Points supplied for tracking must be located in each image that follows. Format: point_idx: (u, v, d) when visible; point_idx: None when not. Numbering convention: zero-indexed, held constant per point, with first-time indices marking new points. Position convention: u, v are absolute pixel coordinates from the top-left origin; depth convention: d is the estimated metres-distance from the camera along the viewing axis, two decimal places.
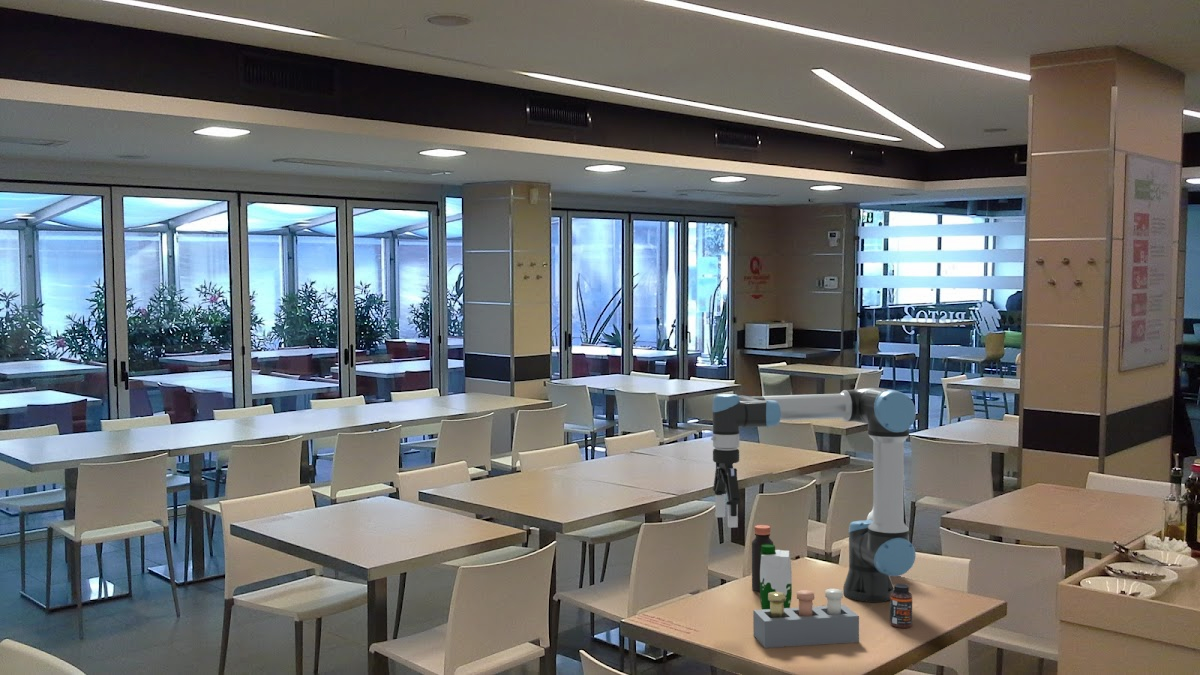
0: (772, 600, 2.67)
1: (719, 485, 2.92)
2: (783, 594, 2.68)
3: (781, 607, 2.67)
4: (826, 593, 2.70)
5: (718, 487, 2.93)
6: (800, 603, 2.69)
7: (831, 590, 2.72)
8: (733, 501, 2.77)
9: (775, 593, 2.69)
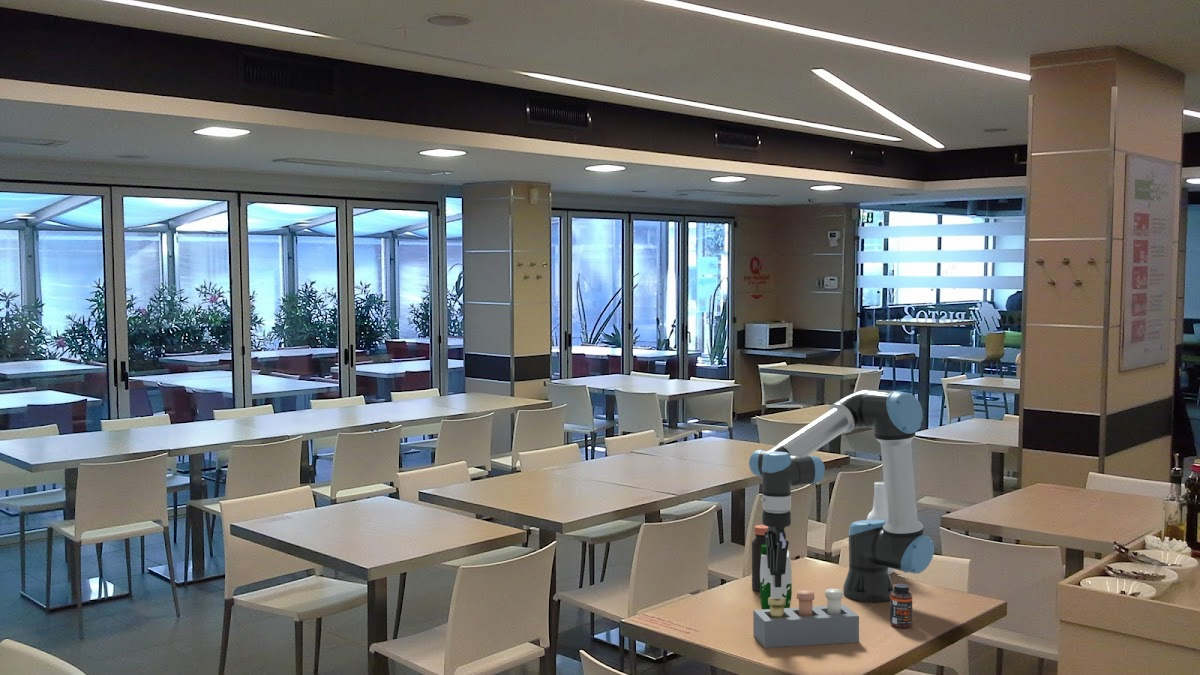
0: (772, 605, 2.67)
1: (773, 557, 2.69)
2: (783, 599, 2.68)
3: (781, 612, 2.67)
4: (826, 593, 2.70)
5: (772, 560, 2.69)
6: (800, 603, 2.69)
7: (831, 590, 2.72)
8: (778, 573, 2.65)
9: None
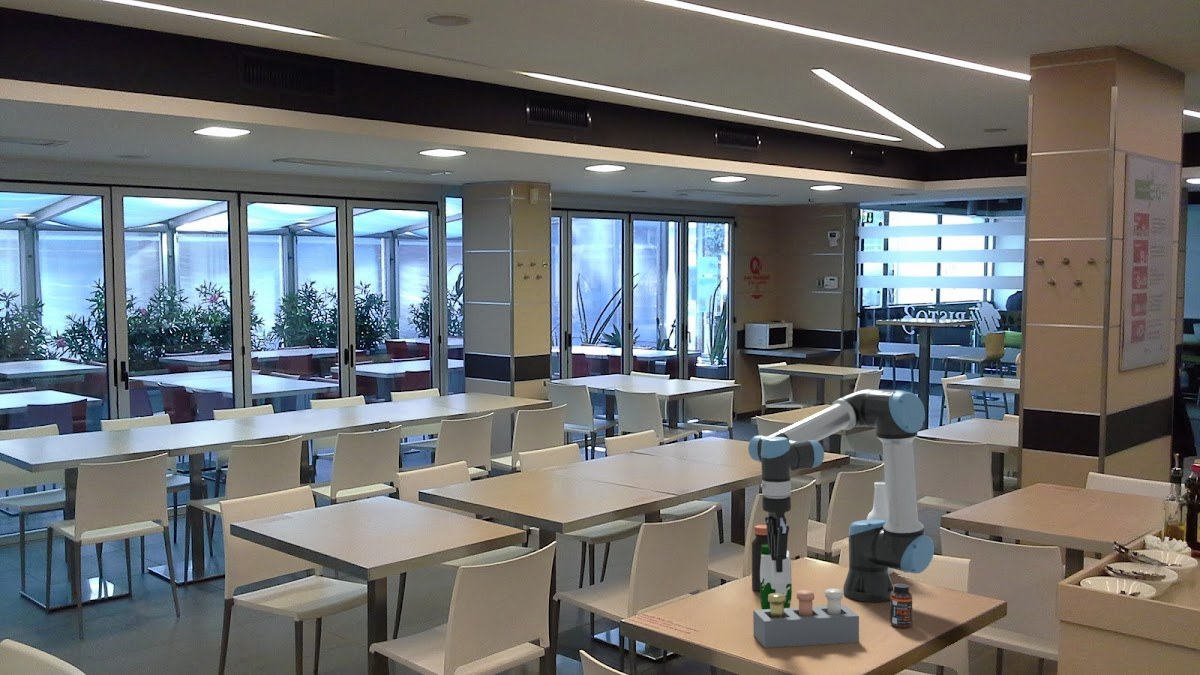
0: (772, 601, 2.67)
1: (774, 542, 2.69)
2: (783, 595, 2.68)
3: (781, 609, 2.67)
4: (826, 593, 2.70)
5: (773, 545, 2.69)
6: (800, 603, 2.69)
7: (831, 590, 2.72)
8: (779, 558, 2.65)
9: (775, 594, 2.69)
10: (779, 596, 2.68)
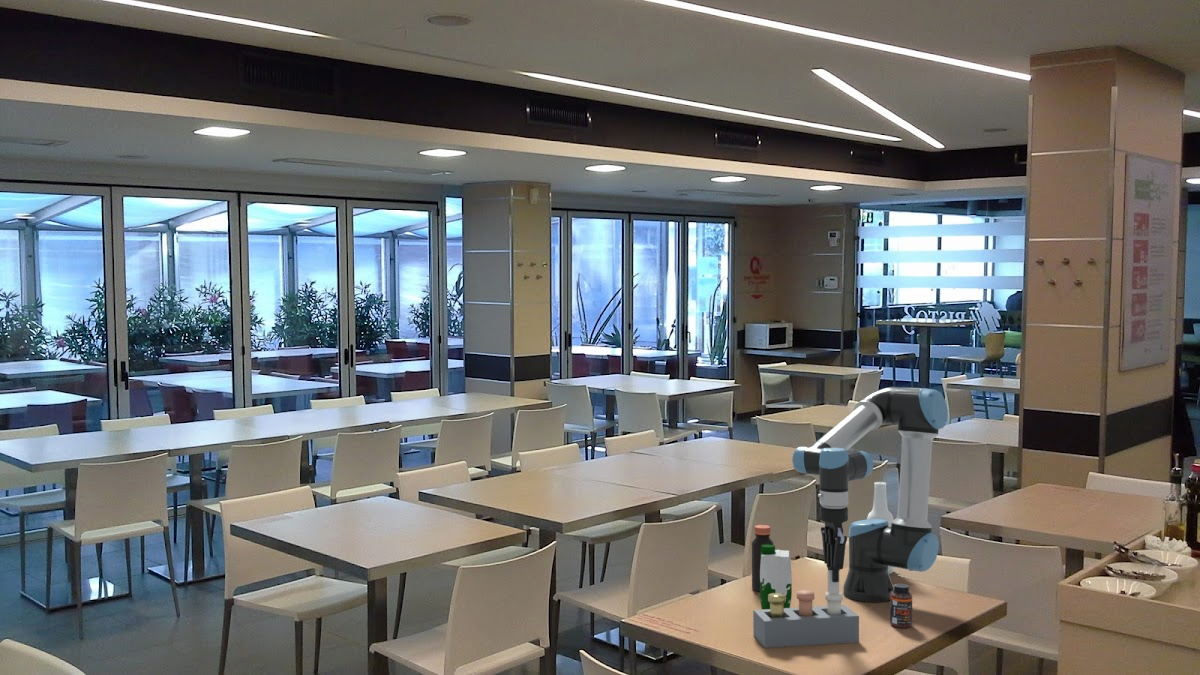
0: (772, 601, 2.67)
1: (830, 552, 2.71)
2: (783, 595, 2.68)
3: (781, 609, 2.67)
4: (826, 596, 2.70)
5: (829, 555, 2.71)
6: (800, 603, 2.69)
7: None
8: (836, 568, 2.67)
9: (775, 594, 2.69)
10: (779, 596, 2.68)
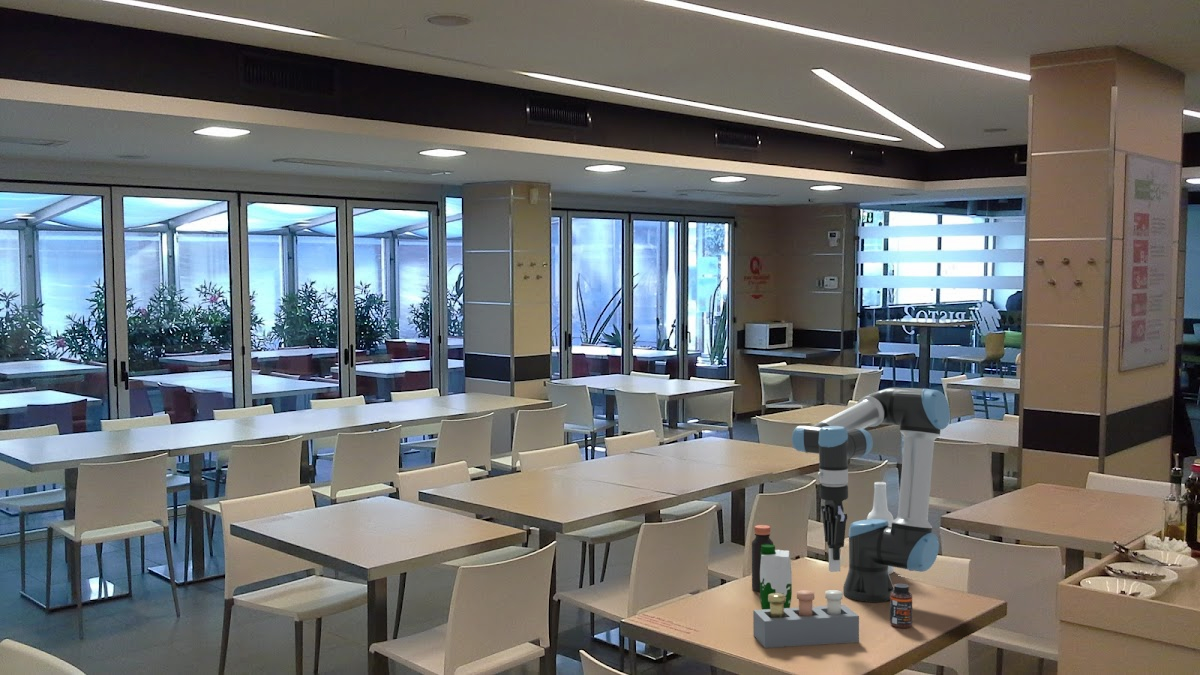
0: (772, 601, 2.67)
1: (830, 530, 2.71)
2: (783, 595, 2.68)
3: (781, 609, 2.67)
4: (826, 594, 2.70)
5: (830, 533, 2.71)
6: (800, 603, 2.69)
7: (831, 591, 2.72)
8: (836, 546, 2.67)
9: (775, 594, 2.69)
10: (779, 596, 2.68)
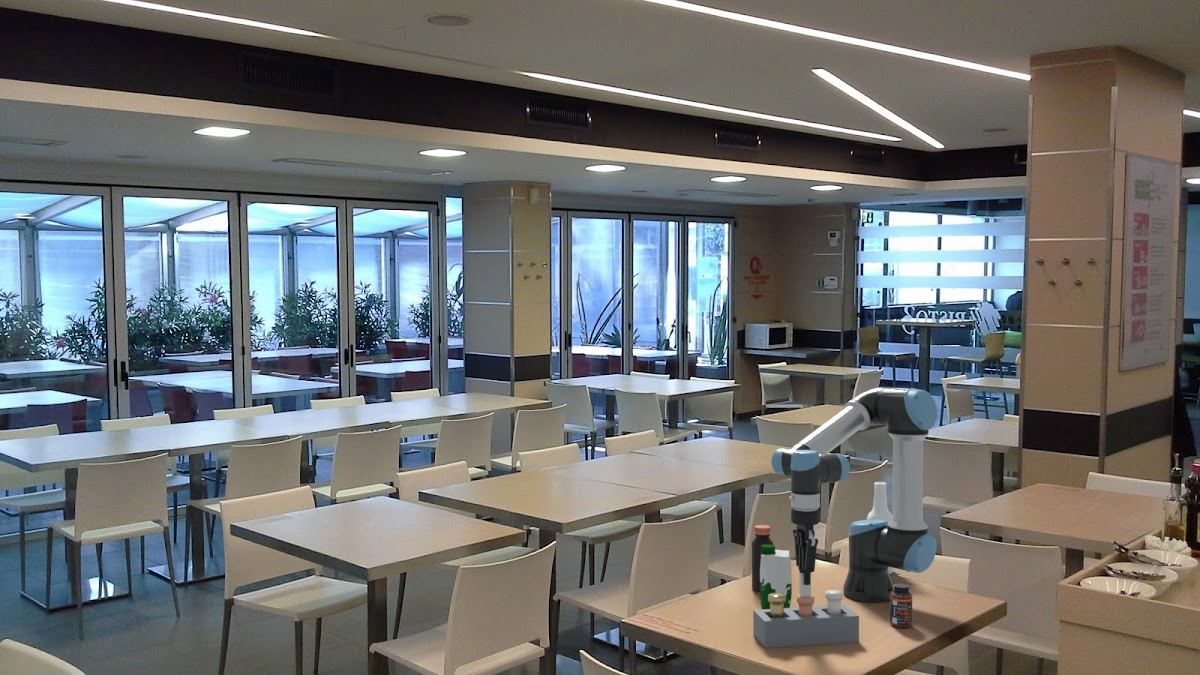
0: (772, 601, 2.67)
1: (801, 554, 2.70)
2: (783, 595, 2.68)
3: (781, 609, 2.67)
4: (826, 594, 2.70)
5: (801, 557, 2.70)
6: (800, 607, 2.69)
7: (831, 591, 2.72)
8: (807, 571, 2.66)
9: (775, 594, 2.69)
10: (779, 596, 2.68)
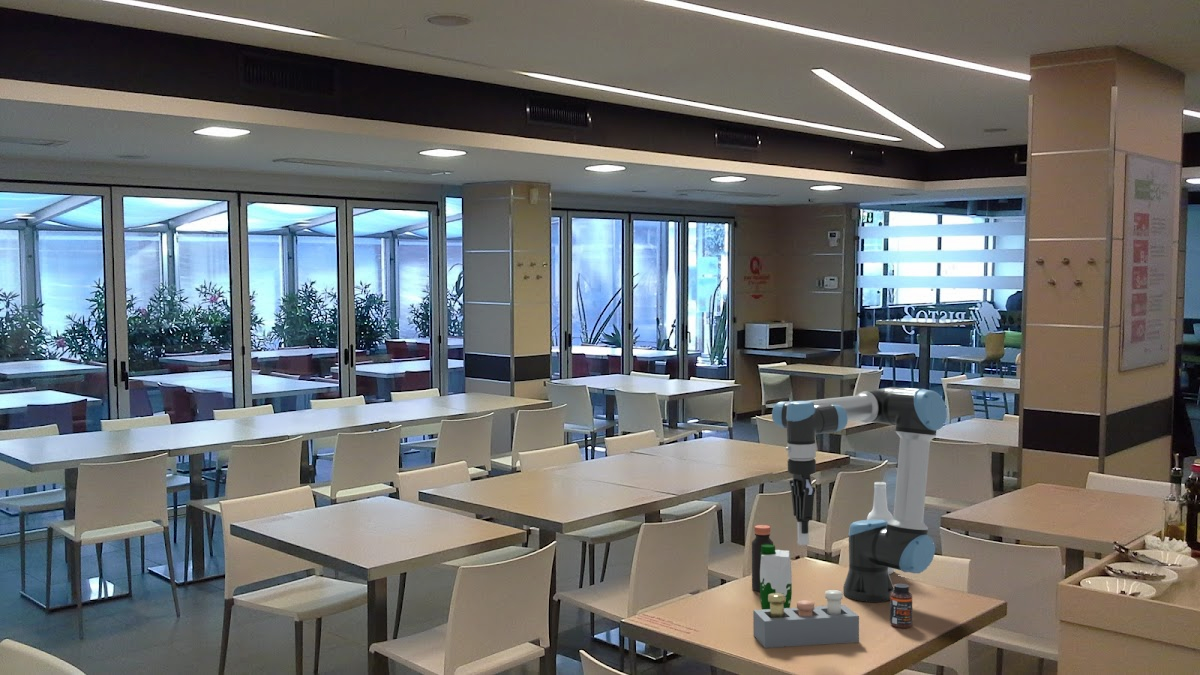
0: (772, 601, 2.67)
1: (799, 504, 2.74)
2: (783, 595, 2.68)
3: (781, 609, 2.67)
4: (826, 594, 2.70)
5: (798, 507, 2.74)
6: (800, 613, 2.69)
7: (831, 591, 2.72)
8: (805, 520, 2.70)
9: (775, 594, 2.69)
10: (779, 596, 2.68)
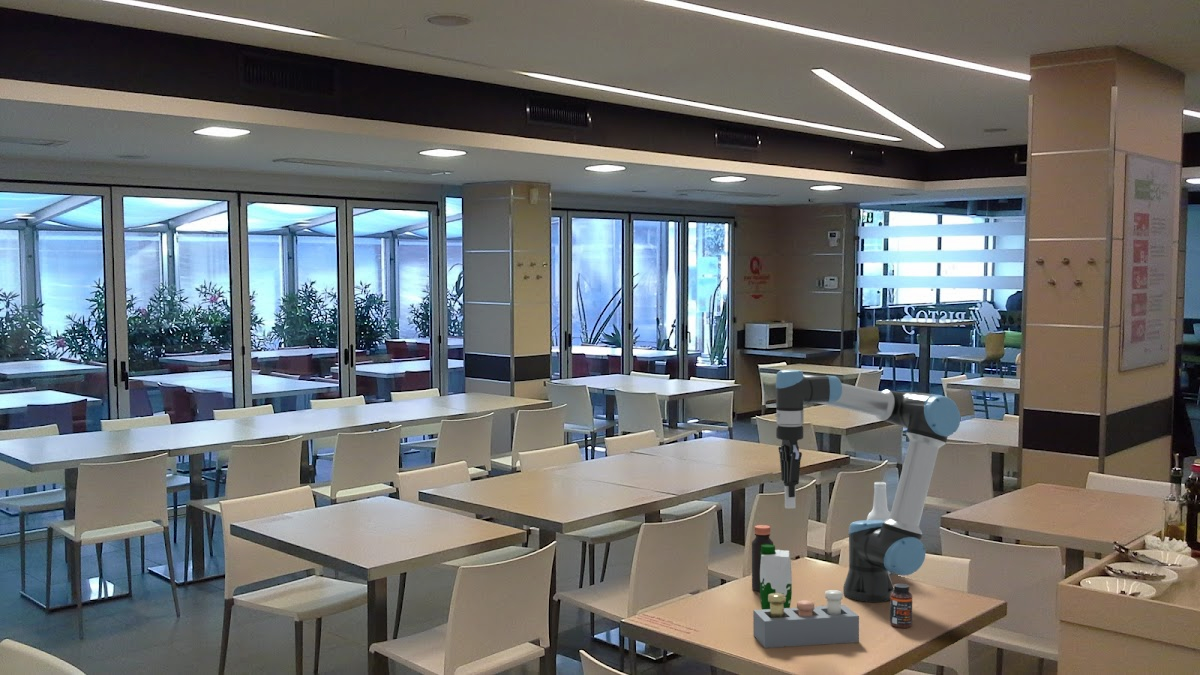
0: (772, 601, 2.67)
1: (786, 469, 2.84)
2: (783, 595, 2.68)
3: (781, 609, 2.67)
4: (826, 594, 2.70)
5: (786, 472, 2.84)
6: (800, 613, 2.69)
7: (831, 591, 2.72)
8: (792, 483, 2.80)
9: (775, 594, 2.69)
10: (779, 596, 2.68)
